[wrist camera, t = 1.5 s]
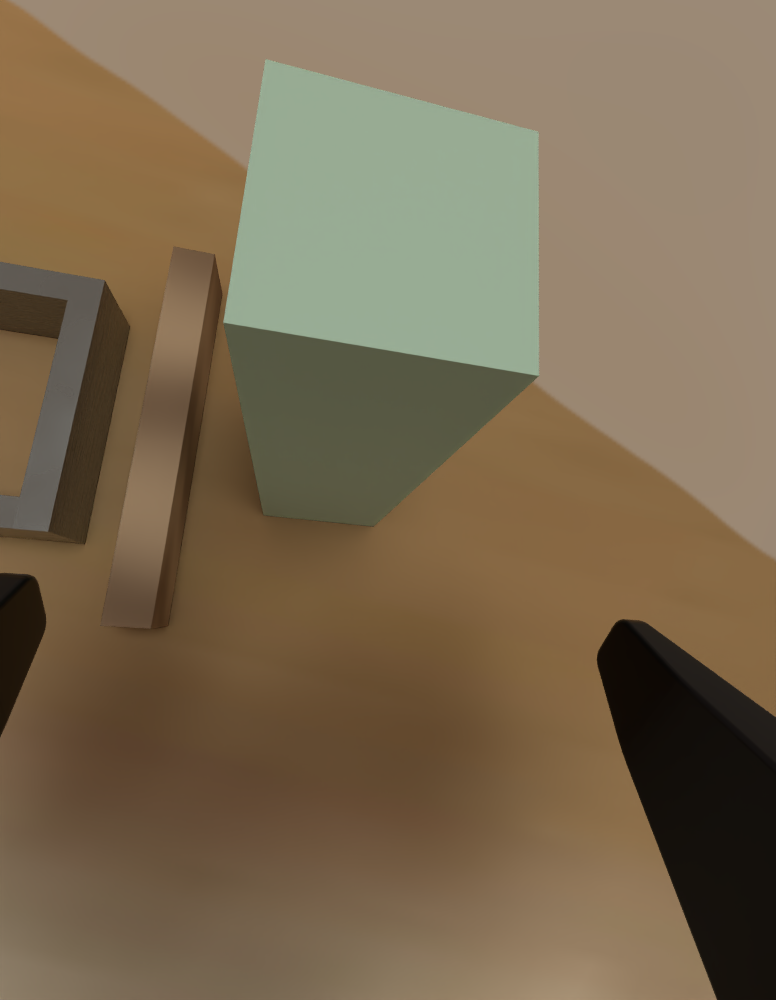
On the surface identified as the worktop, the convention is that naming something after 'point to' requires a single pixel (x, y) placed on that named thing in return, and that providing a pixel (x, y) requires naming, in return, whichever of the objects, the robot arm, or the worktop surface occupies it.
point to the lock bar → (377, 290)
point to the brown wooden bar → (165, 447)
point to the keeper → (64, 397)
